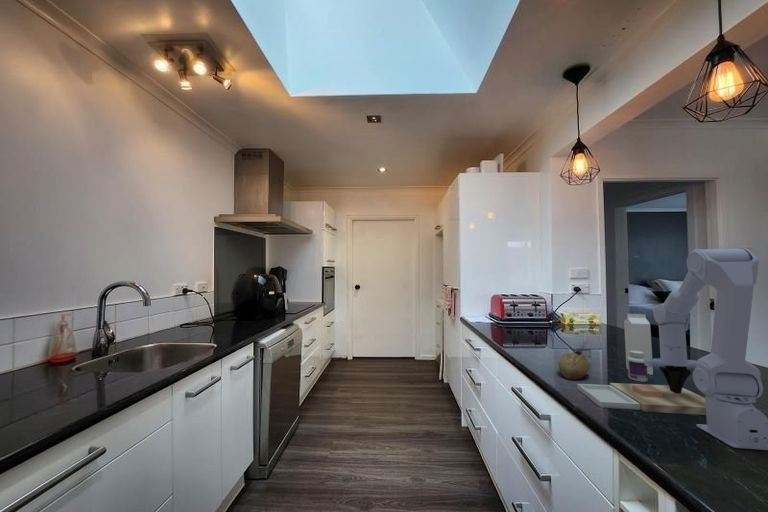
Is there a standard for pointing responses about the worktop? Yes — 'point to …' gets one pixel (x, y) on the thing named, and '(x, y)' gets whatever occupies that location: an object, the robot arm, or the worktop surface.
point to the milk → (638, 337)
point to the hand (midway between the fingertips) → (675, 392)
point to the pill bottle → (637, 366)
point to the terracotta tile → (647, 391)
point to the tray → (608, 396)
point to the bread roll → (573, 366)
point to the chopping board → (666, 400)
